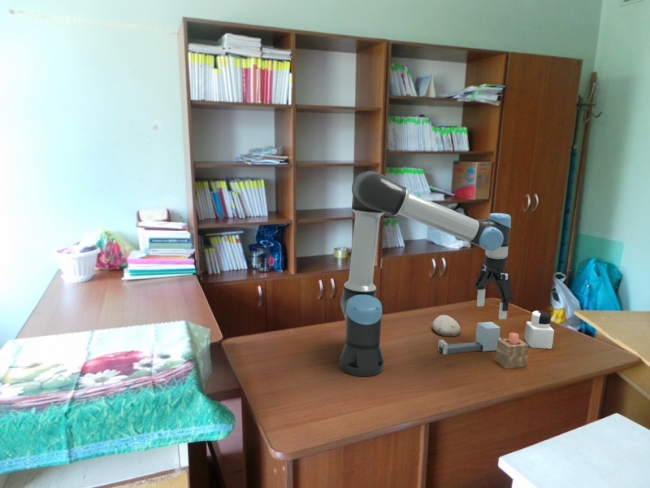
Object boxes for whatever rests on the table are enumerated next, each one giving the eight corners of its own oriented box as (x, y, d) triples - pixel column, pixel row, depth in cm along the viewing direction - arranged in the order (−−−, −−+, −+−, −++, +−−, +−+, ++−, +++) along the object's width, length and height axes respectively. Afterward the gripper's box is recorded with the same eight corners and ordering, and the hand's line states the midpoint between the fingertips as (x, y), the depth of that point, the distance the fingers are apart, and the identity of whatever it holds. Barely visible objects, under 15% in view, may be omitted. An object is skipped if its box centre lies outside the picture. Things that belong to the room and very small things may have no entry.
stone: (451, 347, 178) (465, 333, 176) (432, 334, 177) (445, 319, 175) (446, 332, 191) (458, 318, 188) (428, 319, 190) (440, 305, 187)
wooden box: (506, 368, 152) (508, 346, 151) (495, 360, 158) (497, 339, 156) (526, 366, 154) (528, 345, 153) (514, 358, 160) (517, 337, 158)
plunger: (510, 358, 154) (513, 336, 152) (505, 354, 157) (507, 332, 155) (518, 357, 154) (520, 335, 153) (512, 353, 157) (515, 332, 156)
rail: (443, 354, 162) (444, 344, 161) (438, 349, 165) (438, 339, 165) (501, 349, 168) (502, 339, 167) (494, 344, 171) (495, 334, 170)
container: (544, 340, 176) (548, 309, 173) (551, 349, 169) (556, 316, 166) (523, 339, 177) (527, 308, 174) (530, 347, 169) (535, 315, 167)
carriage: (483, 351, 165) (486, 328, 163) (475, 345, 170) (477, 323, 168) (497, 350, 166) (500, 327, 164) (488, 343, 172) (491, 321, 170)
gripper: (528, 264, 150) (522, 323, 154) (485, 248, 173) (480, 300, 178) (509, 265, 148) (503, 325, 152) (467, 249, 172) (463, 301, 176)
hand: (490, 312), depth 165 cm, fingers open, 13 cm apart
